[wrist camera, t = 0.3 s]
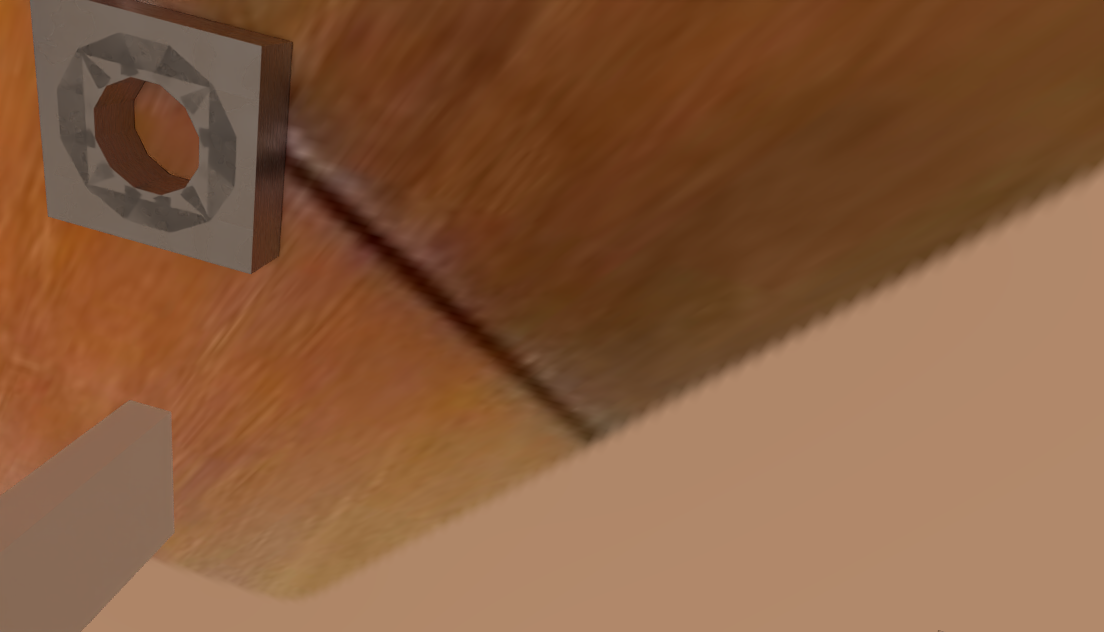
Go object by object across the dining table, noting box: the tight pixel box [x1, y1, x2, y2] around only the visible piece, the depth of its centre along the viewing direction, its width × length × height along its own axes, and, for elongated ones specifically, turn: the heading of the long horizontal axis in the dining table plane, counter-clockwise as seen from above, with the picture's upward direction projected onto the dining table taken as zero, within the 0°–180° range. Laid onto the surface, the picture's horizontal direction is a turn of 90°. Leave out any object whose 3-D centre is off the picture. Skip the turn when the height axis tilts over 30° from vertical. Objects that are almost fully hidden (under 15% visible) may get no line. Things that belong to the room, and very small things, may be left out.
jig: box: [30, 0, 292, 274], centre depth 39 cm, size 12×12×3 cm
